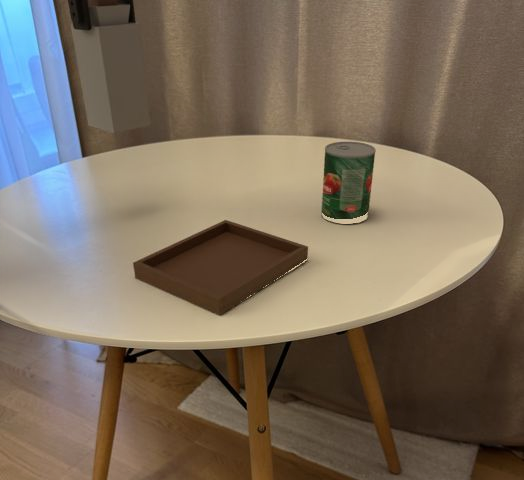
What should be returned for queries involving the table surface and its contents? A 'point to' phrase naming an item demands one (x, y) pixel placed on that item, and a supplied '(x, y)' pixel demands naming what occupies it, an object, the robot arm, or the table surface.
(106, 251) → the table surface
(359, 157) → the canned tomato
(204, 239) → the tray
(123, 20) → the perfume bottle
